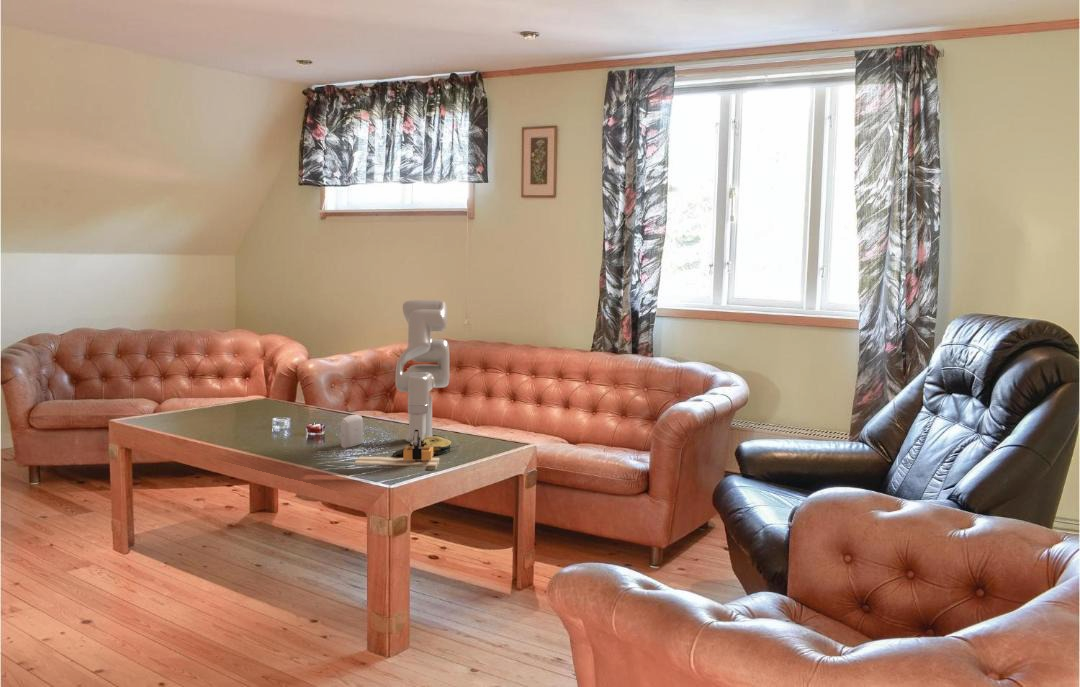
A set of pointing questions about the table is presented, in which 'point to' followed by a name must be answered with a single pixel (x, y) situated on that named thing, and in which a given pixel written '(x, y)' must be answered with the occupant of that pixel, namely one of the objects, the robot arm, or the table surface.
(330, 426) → the table surface
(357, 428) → the photo printer
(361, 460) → the keeper board
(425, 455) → the link
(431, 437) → the pulley block
